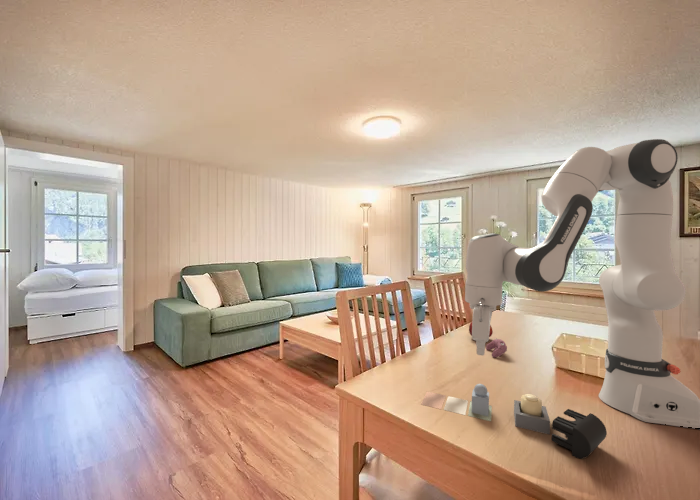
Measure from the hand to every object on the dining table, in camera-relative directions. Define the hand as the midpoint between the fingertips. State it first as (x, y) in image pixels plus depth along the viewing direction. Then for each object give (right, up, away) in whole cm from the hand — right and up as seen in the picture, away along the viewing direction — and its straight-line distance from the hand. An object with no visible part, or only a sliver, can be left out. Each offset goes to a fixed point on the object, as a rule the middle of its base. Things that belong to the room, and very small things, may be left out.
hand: (481, 348), depth 80 cm
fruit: (+26, -16, +62) cm, 69 cm away
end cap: (+16, -18, -13) cm, 27 cm away
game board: (-6, -17, +3) cm, 18 cm away
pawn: (0, -17, 0) cm, 17 cm away
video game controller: (+25, -17, +44) cm, 53 cm away
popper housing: (+10, -18, -5) cm, 21 cm away
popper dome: (+10, -15, -5) cm, 19 cm away
